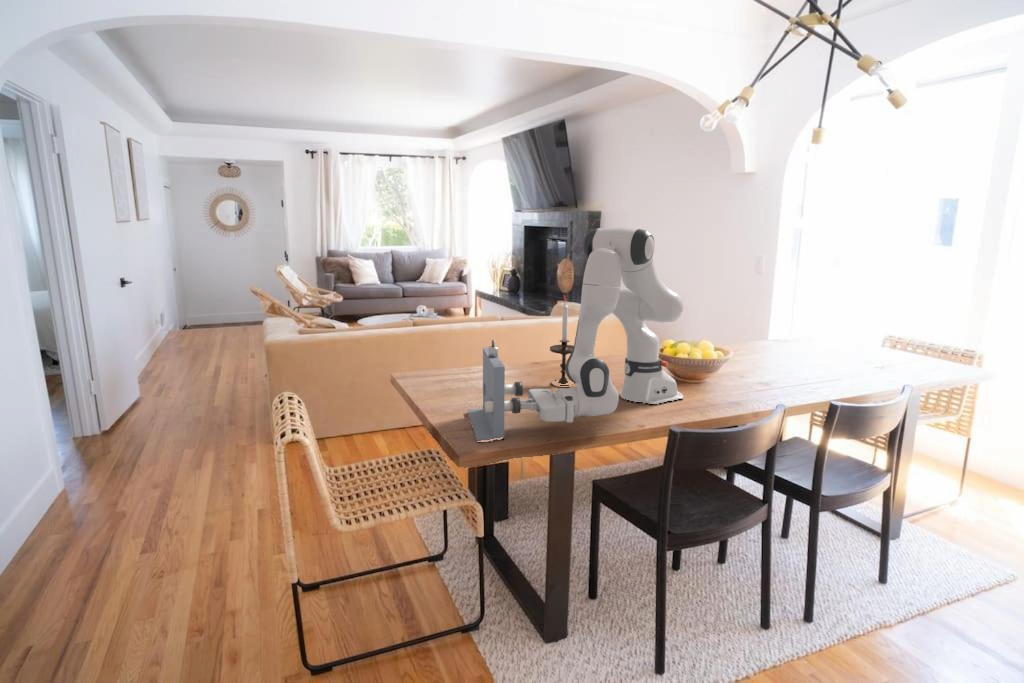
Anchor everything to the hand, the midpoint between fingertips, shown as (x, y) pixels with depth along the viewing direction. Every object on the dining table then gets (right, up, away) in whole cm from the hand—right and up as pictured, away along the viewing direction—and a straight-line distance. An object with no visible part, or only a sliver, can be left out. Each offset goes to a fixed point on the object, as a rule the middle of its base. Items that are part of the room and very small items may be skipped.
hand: (519, 405), depth 172 cm
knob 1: (-5, -2, 0) cm, 6 cm away
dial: (-8, +14, +4) cm, 17 cm away
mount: (-11, -7, +8) cm, 15 cm away
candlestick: (+18, +2, +53) cm, 56 cm away
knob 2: (-4, +1, +16) cm, 16 cm away
